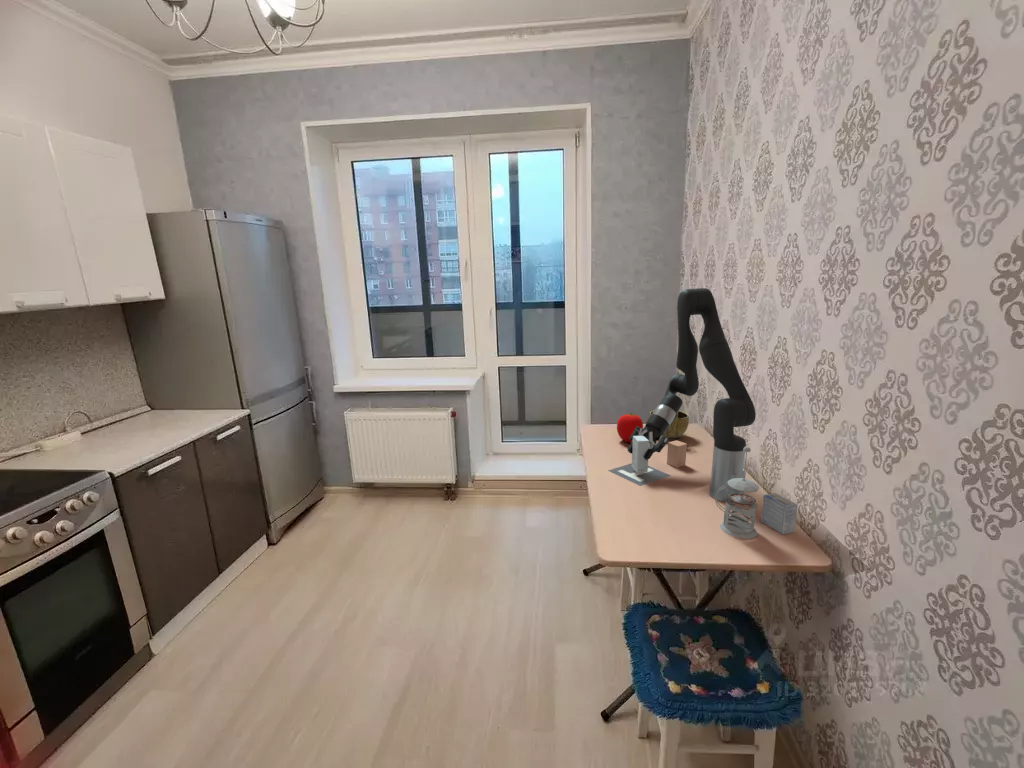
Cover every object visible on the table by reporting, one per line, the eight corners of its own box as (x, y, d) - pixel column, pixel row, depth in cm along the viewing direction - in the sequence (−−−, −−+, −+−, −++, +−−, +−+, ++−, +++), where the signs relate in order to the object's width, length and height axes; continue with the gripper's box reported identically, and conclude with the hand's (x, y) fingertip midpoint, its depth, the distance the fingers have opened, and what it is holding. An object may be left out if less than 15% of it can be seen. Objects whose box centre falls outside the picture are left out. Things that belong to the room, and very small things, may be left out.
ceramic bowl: (691, 446, 199) (694, 412, 196) (650, 444, 203) (652, 410, 199) (682, 430, 221) (685, 399, 218) (645, 428, 224) (647, 398, 221)
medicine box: (794, 532, 132) (798, 504, 130) (782, 535, 130) (785, 506, 128) (772, 519, 139) (775, 492, 137) (760, 521, 138) (763, 494, 136)
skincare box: (648, 472, 169) (649, 440, 166) (636, 472, 168) (638, 441, 166) (642, 465, 175) (643, 435, 172) (630, 466, 174) (632, 435, 172)
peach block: (685, 466, 179) (686, 443, 177) (676, 468, 176) (678, 446, 174) (675, 462, 183) (676, 440, 181) (666, 464, 180) (668, 442, 178)
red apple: (619, 446, 201) (620, 417, 198) (613, 437, 211) (615, 410, 208) (645, 445, 201) (647, 417, 198) (638, 437, 211) (640, 410, 208)
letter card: (671, 476, 169) (671, 475, 169) (640, 487, 161) (640, 485, 161) (637, 462, 183) (637, 461, 182) (607, 471, 174) (607, 470, 174)
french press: (756, 542, 127) (767, 455, 121) (711, 531, 133) (718, 448, 127) (758, 525, 135) (768, 444, 130) (715, 516, 141) (722, 437, 135)
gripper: (641, 409, 177) (617, 444, 173) (672, 418, 165) (647, 456, 162) (650, 420, 181) (627, 454, 177) (681, 429, 169) (657, 467, 165)
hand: (637, 455), depth 169 cm, fingers closed on skincare box, 7 cm apart
